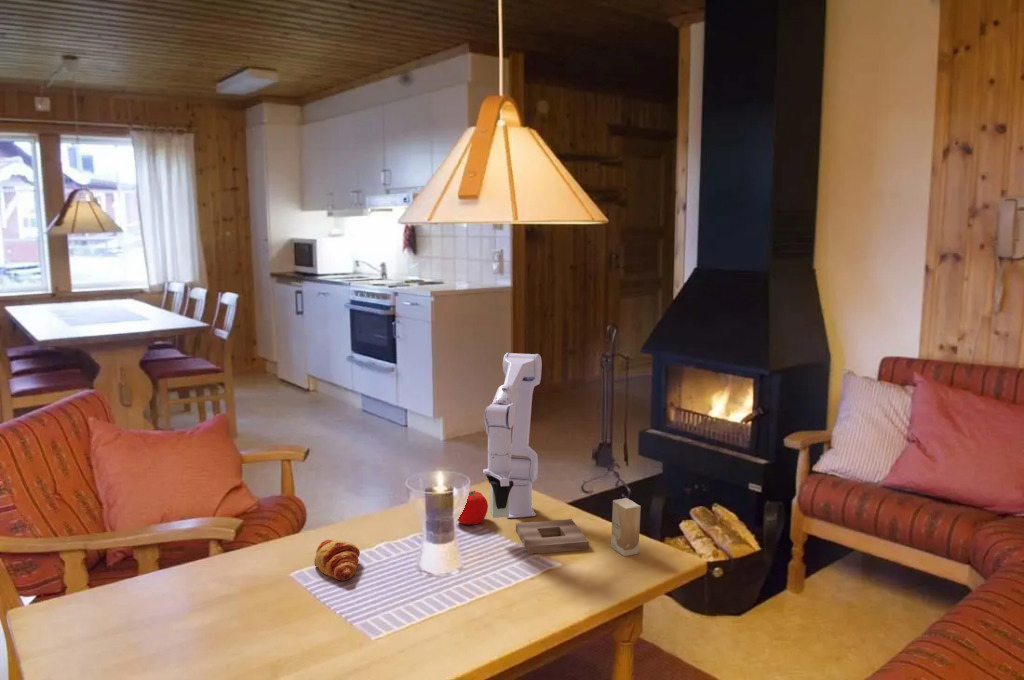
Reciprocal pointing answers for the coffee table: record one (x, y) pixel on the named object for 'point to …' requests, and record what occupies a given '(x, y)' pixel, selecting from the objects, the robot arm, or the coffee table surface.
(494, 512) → the sage peg
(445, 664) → the coffee table surface
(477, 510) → the tomato
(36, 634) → the coffee table surface
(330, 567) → the croissant
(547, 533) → the walnut socket frame
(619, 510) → the skincare box
